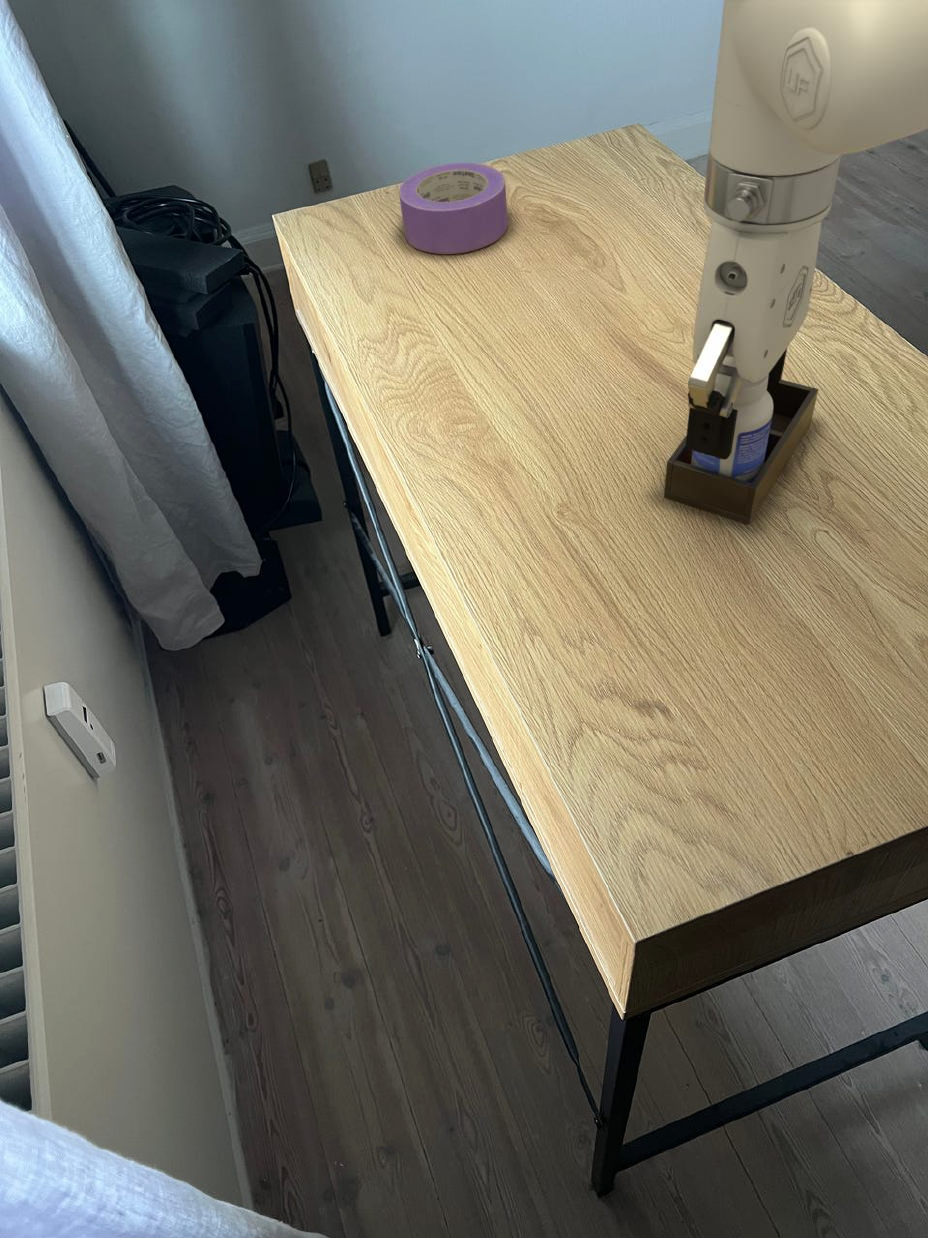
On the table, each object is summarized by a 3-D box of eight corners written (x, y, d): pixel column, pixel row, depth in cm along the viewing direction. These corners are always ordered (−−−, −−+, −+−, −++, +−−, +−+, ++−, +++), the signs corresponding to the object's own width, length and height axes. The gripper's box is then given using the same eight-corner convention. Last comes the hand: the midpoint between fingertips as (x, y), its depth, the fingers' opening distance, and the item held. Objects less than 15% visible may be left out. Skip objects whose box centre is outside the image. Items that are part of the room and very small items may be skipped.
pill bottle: (762, 457, 74) (782, 351, 67) (758, 503, 71) (779, 396, 63) (692, 451, 75) (704, 347, 68) (685, 496, 72) (697, 391, 65)
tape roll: (404, 211, 109) (398, 167, 106) (503, 199, 109) (500, 155, 105) (406, 261, 102) (399, 216, 98) (512, 248, 101) (509, 202, 98)
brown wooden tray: (810, 424, 77) (818, 388, 75) (749, 524, 70) (755, 489, 68) (730, 403, 80) (735, 367, 78) (663, 497, 73) (666, 461, 71)
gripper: (778, 260, 50) (738, 500, 62) (878, 131, 59) (824, 364, 71) (649, 234, 53) (636, 468, 66) (762, 115, 62) (731, 342, 75)
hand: (734, 414), depth 68 cm, fingers open, 9 cm apart
